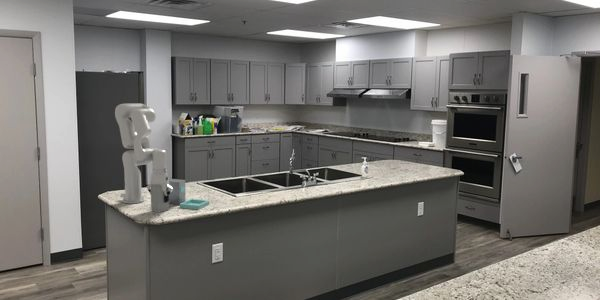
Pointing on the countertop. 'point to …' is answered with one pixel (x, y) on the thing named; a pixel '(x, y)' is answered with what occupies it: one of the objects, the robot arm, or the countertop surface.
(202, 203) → the tray
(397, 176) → the countertop surface
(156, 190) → the skincare box
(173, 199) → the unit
